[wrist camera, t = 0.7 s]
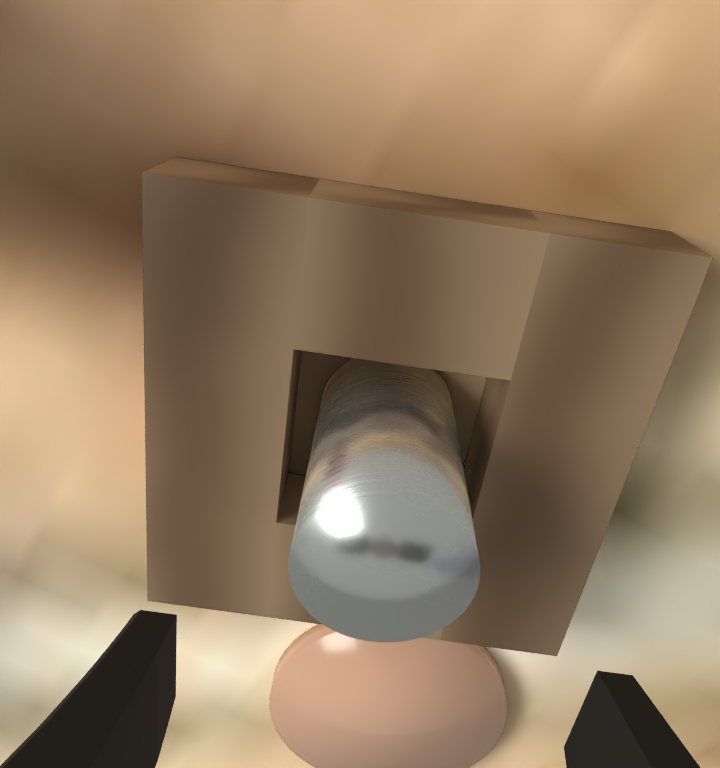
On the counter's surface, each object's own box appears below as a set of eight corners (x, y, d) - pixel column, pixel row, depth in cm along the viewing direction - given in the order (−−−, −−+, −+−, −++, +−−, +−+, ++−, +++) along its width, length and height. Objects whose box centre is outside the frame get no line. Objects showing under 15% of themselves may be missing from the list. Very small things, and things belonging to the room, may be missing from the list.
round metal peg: (464, 361, 19) (500, 510, 13) (438, 474, 21) (458, 653, 15) (328, 341, 19) (297, 482, 13) (314, 456, 21) (280, 629, 14)
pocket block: (670, 231, 17) (712, 257, 15) (540, 597, 23) (556, 656, 21) (175, 156, 17) (141, 172, 14) (171, 547, 23) (147, 600, 20)
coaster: (530, 628, 24) (534, 645, 23) (475, 779, 28) (478, 799, 27) (282, 594, 23) (279, 611, 23) (265, 752, 27) (261, 770, 27)
